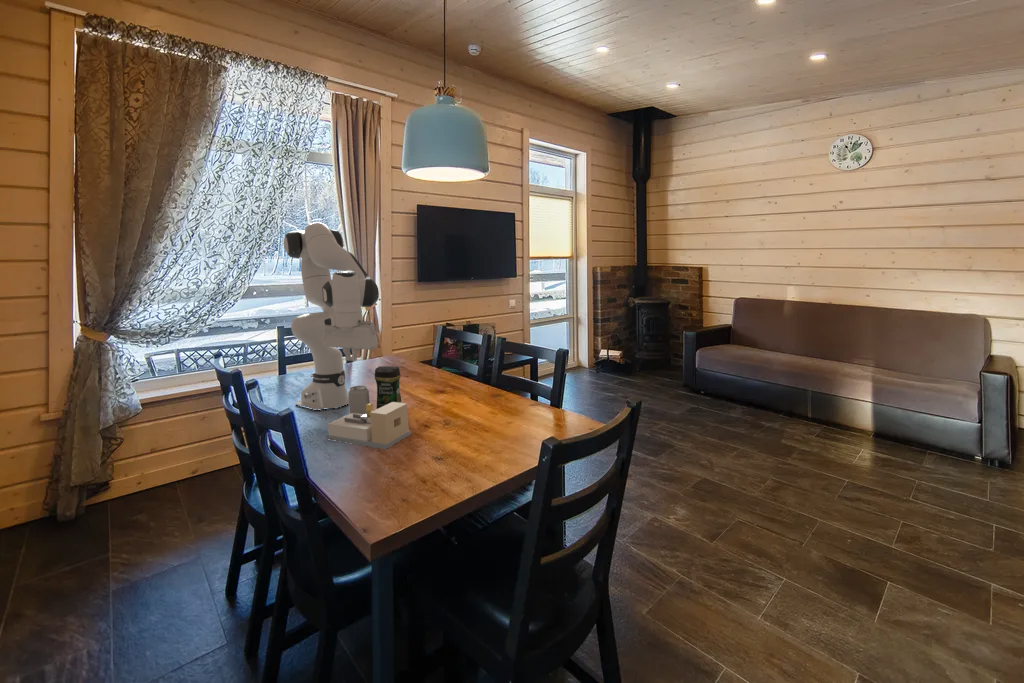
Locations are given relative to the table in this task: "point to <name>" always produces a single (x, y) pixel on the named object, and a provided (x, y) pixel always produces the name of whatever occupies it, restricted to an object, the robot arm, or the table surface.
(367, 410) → the bolt
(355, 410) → the can
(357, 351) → the robot arm
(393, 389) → the coffee jar
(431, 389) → the table surface
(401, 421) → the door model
